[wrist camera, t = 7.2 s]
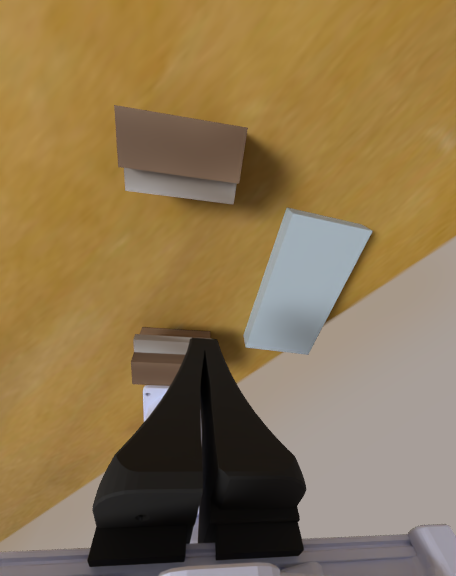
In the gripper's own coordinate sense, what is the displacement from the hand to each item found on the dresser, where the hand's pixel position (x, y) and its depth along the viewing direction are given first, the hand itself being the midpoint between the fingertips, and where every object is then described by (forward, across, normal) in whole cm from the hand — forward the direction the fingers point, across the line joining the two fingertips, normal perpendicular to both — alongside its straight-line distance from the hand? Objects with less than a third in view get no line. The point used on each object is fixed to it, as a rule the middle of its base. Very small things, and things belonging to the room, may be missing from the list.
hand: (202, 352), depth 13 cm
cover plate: (+9, -8, 0) cm, 12 cm away
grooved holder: (+8, +2, -1) cm, 9 cm away
